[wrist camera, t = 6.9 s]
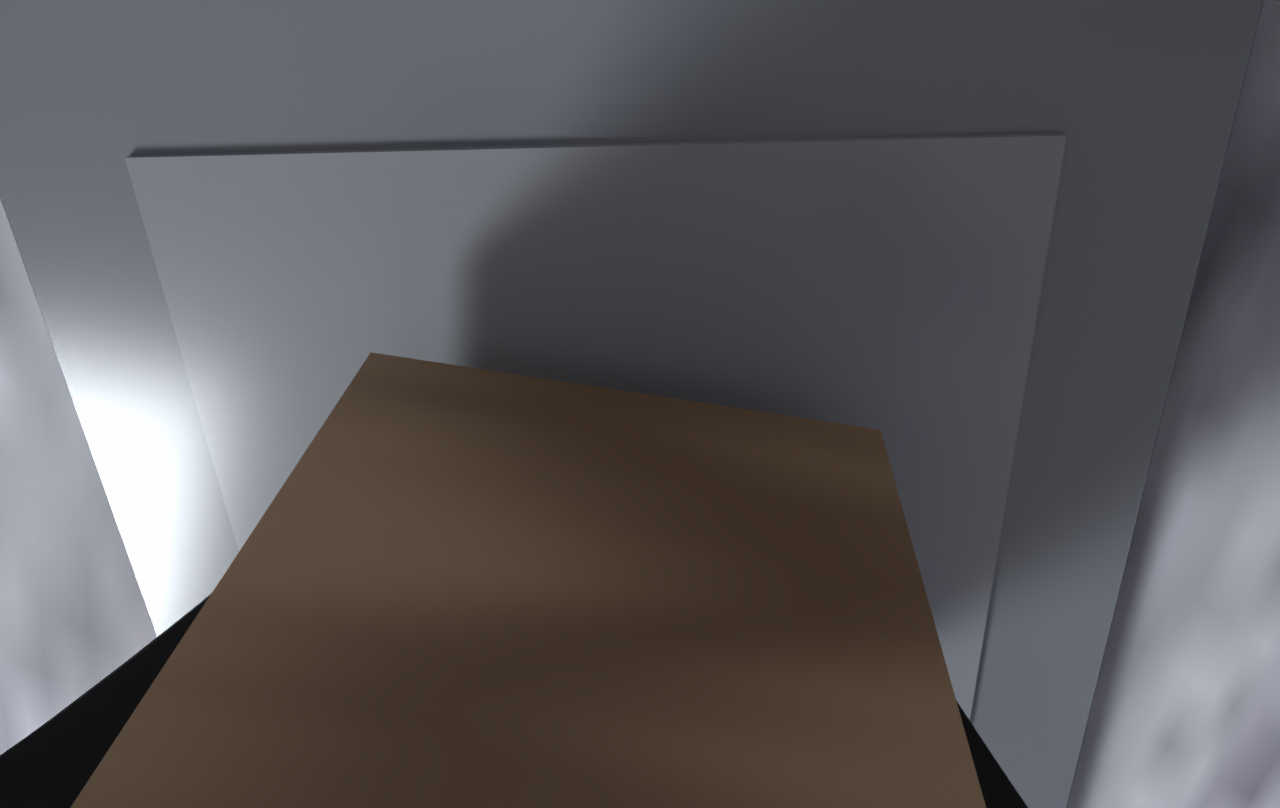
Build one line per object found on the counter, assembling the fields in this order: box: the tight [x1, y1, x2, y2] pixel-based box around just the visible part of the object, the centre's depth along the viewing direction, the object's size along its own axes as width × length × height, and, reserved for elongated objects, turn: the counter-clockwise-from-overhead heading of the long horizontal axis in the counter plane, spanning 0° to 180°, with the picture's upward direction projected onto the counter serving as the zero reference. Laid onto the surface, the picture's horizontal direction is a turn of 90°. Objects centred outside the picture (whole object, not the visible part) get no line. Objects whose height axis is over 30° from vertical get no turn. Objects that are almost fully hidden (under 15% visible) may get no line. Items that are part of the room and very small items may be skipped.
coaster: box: [0, 0, 1263, 808], centre depth 12 cm, size 12×12×1 cm
